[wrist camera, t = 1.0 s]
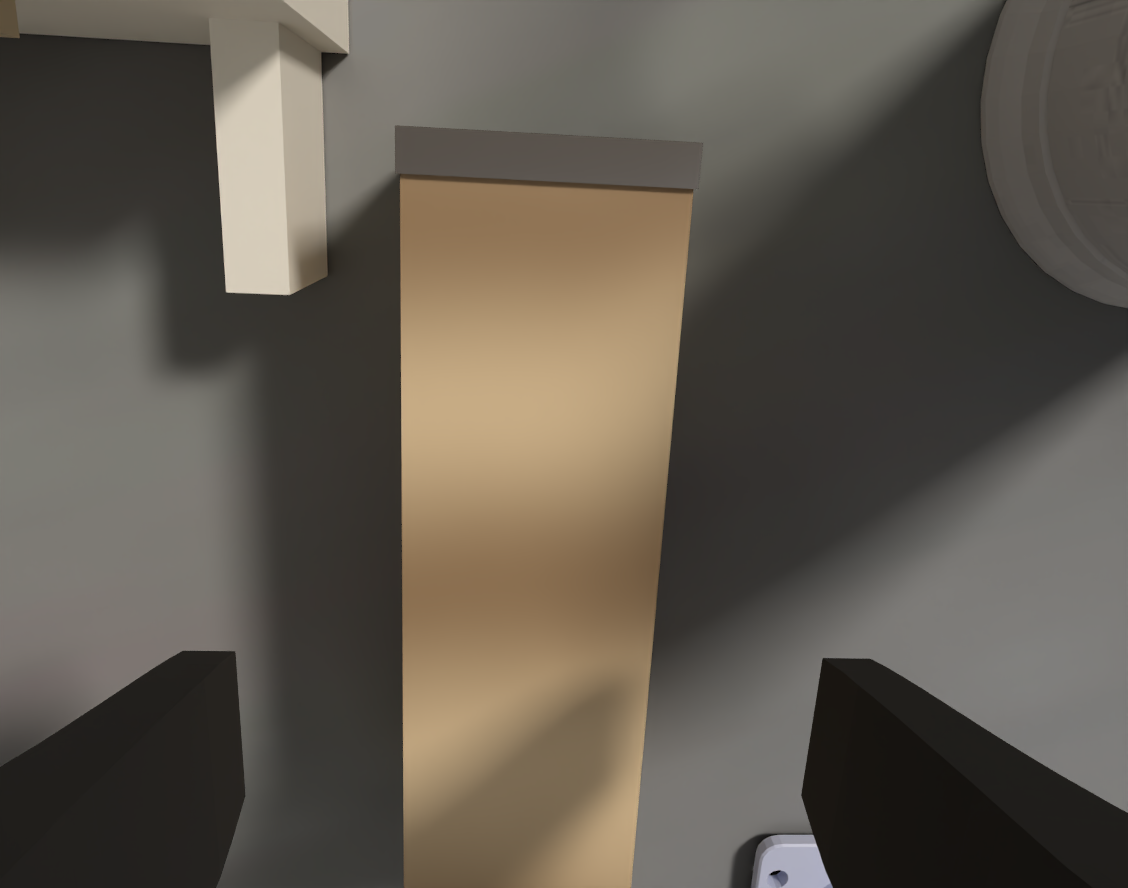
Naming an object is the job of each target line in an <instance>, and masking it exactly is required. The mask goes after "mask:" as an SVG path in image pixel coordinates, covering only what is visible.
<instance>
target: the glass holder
mask: <svg viewBox="0 0 1128 888" xmlns="http://www.w3.org/2000/svg"><path fill="white" fill-rule="evenodd" d="M981 145H982V150H983V155H984V161H985V166H986V172H987V177H988V182H989V185H990V187H991V190H992V193H993V195H994V198H995V200H996V203H997V206H998V208H999V211H1000V214H1001V216H1002V218H1003V219H1004V221H1005V223H1006V224H1007V226H1008V228H1009V229H1010V231H1011V232H1012V234H1013V236H1014V237H1015V239H1016V240H1017V242H1018V244H1019V245H1020V247H1021V248H1022V249H1023V250H1024V251H1025V252H1026V253H1027V254H1028V255H1029V256H1030V257H1031V258H1032V259H1033V260H1034V261H1035V263H1036V264H1037V265H1038V266H1039V267H1040V268H1041V269H1042V270H1043V271H1044V272H1046V273H1047V274H1048V275H1050V276H1051V277H1053V278H1054V279H1056V280H1057V281H1059V282H1060V283H1061V284H1063V285H1064V286H1066V287H1067V288H1069V289H1070V290H1072V291H1074V292H1077V293H1079V294H1081V295H1084V296H1086V297H1089V298H1091V299H1093V300H1096V301H1098V302H1100V303H1104V304H1109V305H1114V306H1119V307H1124V308H1128V0H1007V1H1006V3H1005V5H1004V7H1003V10H1002V12H1001V14H1000V16H999V20H998V23H997V26H996V30H995V33H994V36H993V40H992V43H991V46H990V50H989V53H988V56H987V61H986V68H985V74H984V81H983V88H982V95H981Z"/></svg>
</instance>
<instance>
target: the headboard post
mask: <svg viewBox="0 0 1128 888" xmlns="http://www.w3.org/2000/svg"><path fill="white" fill-rule="evenodd" d="M19 33H23V34H39V35H55V36H71V37H87V38H103V39H119V40H135V41H151V42H167V43H183V44H199V45H210V47H211V63H212V78H213V94H214V110H215V126H216V141H217V157H218V173H219V189H220V204H221V220H222V236H223V252H224V267H225V283H226V292H229V293H252V294H276V295H291V294H293V293H295V292H297V291H299V290H301V289H303V288H305V287H307V286H309V285H311V284H313V283H315V282H317V281H319V280H321V279H323V278H325V277H326V276H328V267H327V233H326V199H325V165H324V131H323V97H322V63H321V52H328V53H344V54H349V19H348V0H0V37H9V38H20V37H19Z"/></svg>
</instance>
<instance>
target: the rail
mask: <svg viewBox="0 0 1128 888" xmlns="http://www.w3.org/2000/svg"><path fill="white" fill-rule="evenodd" d="M702 147H703V143H697V142H679V141H662V140H644V139H626V138H609V137H591V136H573V135H555V134H538V133H520V132H502V131H484V130H467V129H449V128H431V127H413V126H396V125H395V173H397V174H400V261H401V446H402V632H403V817H404V888H631V880H632V869H633V858H634V847H635V835H636V824H637V813H638V802H639V791H640V780H641V769H642V757H643V746H644V735H645V724H646V713H647V702H648V691H649V679H650V668H651V657H652V646H653V635H654V624H655V613H656V602H657V590H658V579H659V568H660V557H661V546H662V535H663V524H664V512H665V501H666V490H667V479H668V468H669V457H670V446H671V434H672V423H673V412H674V401H675V390H676V379H677V368H678V357H679V345H680V334H681V323H682V312H683V301H684V290H685V279H686V267H687V256H688V245H689V234H690V223H691V212H692V201H693V189H699V180H700V169H701V158H702Z"/></svg>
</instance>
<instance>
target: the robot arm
mask: <svg viewBox="0 0 1128 888" xmlns="http://www.w3.org/2000/svg"><path fill="white" fill-rule="evenodd" d="M801 796H802V799H803V802H804V806H805V809H806V812H807V815H808V819H809V822H810V825H811V829H812V832H813V835H774V836H770V837H768V838H766V839H764V840H763V841H762V842H761V843H760V844H759V845H758V848H757V850H756V855H755V862H754V869H753V876H752V883H751V888H1128V813H1127V812H1125V811H1123V810H1121V809H1119V808H1117V807H1116V806H1114V805H1112V804H1110V803H1108V802H1107V801H1105V800H1103V799H1101V798H1100V797H1098V796H1096V795H1094V794H1093V793H1091V792H1089V791H1087V790H1086V789H1084V788H1082V787H1080V786H1079V785H1077V784H1075V783H1073V782H1072V781H1070V780H1068V779H1066V778H1065V777H1063V776H1061V775H1059V774H1058V773H1056V772H1054V771H1053V770H1051V769H1049V768H1048V767H1046V766H1044V765H1043V764H1041V763H1039V762H1038V761H1036V760H1034V759H1033V758H1031V757H1029V756H1028V755H1026V754H1024V753H1023V752H1021V751H1019V750H1018V749H1016V748H1015V747H1013V746H1011V745H1010V744H1008V743H1006V742H1005V741H1003V740H1002V739H1000V738H999V737H997V736H995V735H994V734H992V733H991V732H989V731H987V730H986V729H984V728H983V727H981V726H980V725H978V724H976V723H975V722H973V721H972V720H970V719H969V718H967V717H965V716H964V715H962V714H961V713H959V712H958V711H956V710H954V709H953V708H951V707H950V706H948V705H947V704H945V703H944V702H942V701H940V700H939V699H937V698H936V697H934V696H933V695H931V694H929V693H928V692H926V691H925V690H923V689H922V688H920V687H918V686H917V685H915V684H914V683H912V682H910V681H909V680H907V679H905V678H904V677H902V676H901V675H899V674H897V673H895V672H894V671H892V670H890V669H889V668H887V667H885V666H883V665H881V664H879V663H877V662H875V661H873V660H871V659H843V658H823V660H822V666H821V673H820V679H819V685H818V692H817V698H816V705H815V711H814V717H813V724H812V730H811V737H810V743H809V749H808V756H807V762H806V768H805V775H804V781H803V788H802V794H801ZM244 798H245V784H244V769H243V755H242V741H241V726H240V712H239V698H238V683H237V669H236V655H235V651H182V652H180V653H178V654H177V655H175V656H173V657H171V658H169V659H168V660H166V661H165V662H163V663H161V664H160V665H158V666H157V667H155V668H153V669H152V670H150V671H149V672H147V673H146V674H144V675H143V676H141V677H140V678H138V679H137V680H135V681H134V682H132V683H131V684H129V685H128V686H126V687H125V688H123V689H122V690H120V691H119V692H117V693H116V694H114V695H113V696H111V697H110V698H108V699H107V700H105V701H104V702H102V703H101V704H99V705H97V706H96V707H94V708H93V709H91V710H90V711H88V712H87V713H85V714H84V715H82V716H81V717H79V718H78V719H76V720H75V721H73V722H71V723H70V724H68V725H67V726H65V727H64V728H62V729H61V730H59V731H58V732H56V733H55V734H53V735H52V736H50V737H49V738H47V739H45V740H44V741H42V742H41V743H39V744H38V745H36V746H34V747H33V748H31V749H29V750H28V751H26V752H24V753H23V754H21V755H19V756H18V757H16V758H14V759H13V760H11V761H9V762H8V763H6V764H4V765H3V766H1V767H0V888H216V886H217V884H218V882H219V879H220V877H221V874H222V871H223V868H224V864H225V861H226V858H227V855H228V852H229V849H230V846H231V842H232V839H233V836H234V832H235V829H236V826H237V822H238V819H239V815H240V812H241V809H242V805H243V802H244ZM777 870H781V872H779V873H778V874H776V875H769V874H770V873H772V872H773V871H777Z"/></svg>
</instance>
